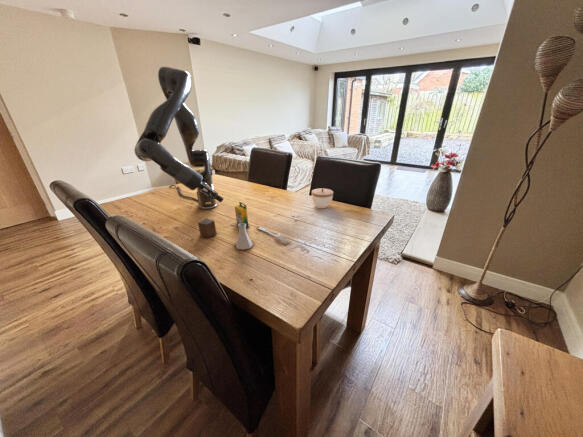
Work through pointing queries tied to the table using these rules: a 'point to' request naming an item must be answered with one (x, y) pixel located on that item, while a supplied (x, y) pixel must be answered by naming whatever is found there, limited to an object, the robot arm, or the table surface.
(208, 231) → the walnut block
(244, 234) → the flask
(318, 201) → the lidded bowl
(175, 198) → the table surface
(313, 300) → the table surface
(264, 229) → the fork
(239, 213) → the crayon box
